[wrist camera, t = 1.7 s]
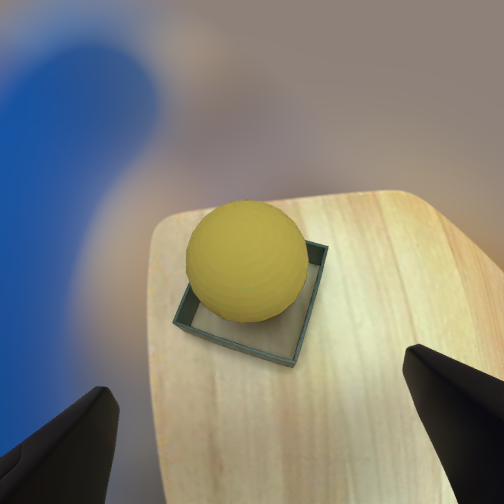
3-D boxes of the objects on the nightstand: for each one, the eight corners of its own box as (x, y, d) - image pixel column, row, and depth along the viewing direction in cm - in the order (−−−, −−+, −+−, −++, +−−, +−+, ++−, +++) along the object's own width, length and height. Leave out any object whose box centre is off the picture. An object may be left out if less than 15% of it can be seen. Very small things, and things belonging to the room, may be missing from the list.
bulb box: (293, 367, 20) (295, 364, 17) (185, 331, 22) (172, 323, 19) (323, 263, 23) (328, 246, 20) (224, 237, 25) (217, 217, 22)
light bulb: (207, 338, 21) (155, 297, 12) (217, 256, 24) (183, 175, 15) (299, 343, 20) (315, 306, 12) (300, 259, 23) (312, 175, 14)
